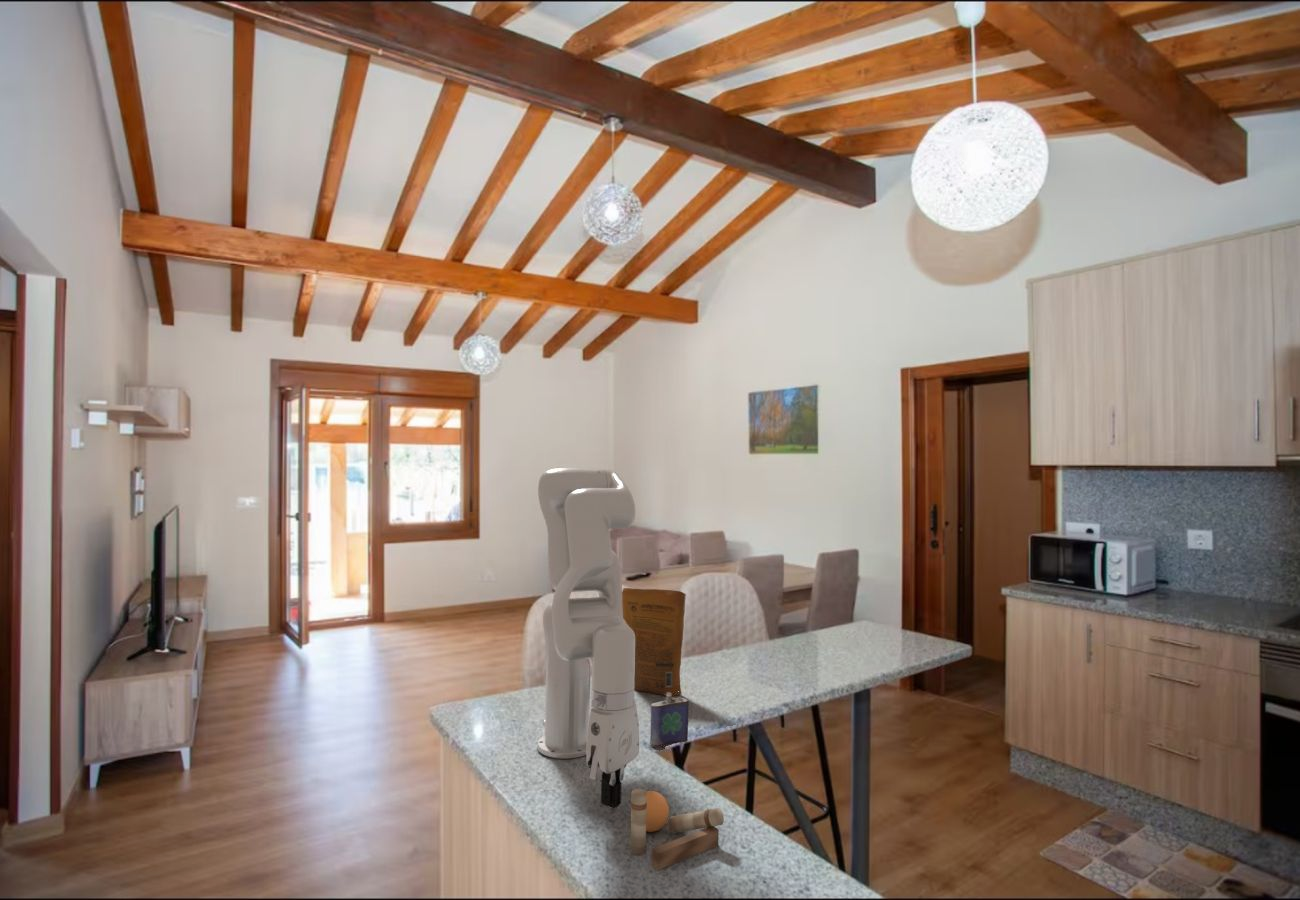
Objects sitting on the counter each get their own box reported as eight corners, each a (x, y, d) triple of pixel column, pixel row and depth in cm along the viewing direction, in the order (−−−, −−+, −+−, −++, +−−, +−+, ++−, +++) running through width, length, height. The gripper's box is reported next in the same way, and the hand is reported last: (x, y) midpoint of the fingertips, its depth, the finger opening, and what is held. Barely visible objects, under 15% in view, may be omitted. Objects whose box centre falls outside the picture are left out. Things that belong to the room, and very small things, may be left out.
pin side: (627, 849, 105) (628, 791, 105) (640, 844, 107) (641, 787, 107) (635, 856, 103) (636, 797, 103) (649, 851, 105) (650, 793, 105)
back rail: (657, 870, 100) (658, 853, 100) (651, 865, 101) (652, 848, 101) (718, 845, 107) (718, 829, 107) (712, 841, 108) (712, 825, 108)
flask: (653, 748, 144) (654, 698, 144) (647, 743, 146) (648, 694, 147) (690, 741, 148) (691, 692, 148) (683, 736, 151) (684, 688, 151)
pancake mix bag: (679, 701, 174) (680, 593, 175) (615, 689, 183) (617, 586, 184) (689, 693, 180) (690, 589, 181) (627, 682, 189) (629, 583, 190)
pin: (672, 812, 112) (718, 804, 108) (679, 824, 112) (725, 816, 108) (667, 824, 109) (714, 816, 105) (674, 836, 110) (721, 829, 106)
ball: (668, 817, 107) (656, 846, 108) (677, 793, 113) (665, 821, 114) (634, 799, 108) (623, 828, 110) (645, 777, 114) (634, 804, 115)
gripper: (603, 715, 109) (601, 829, 108) (654, 690, 121) (652, 793, 120) (568, 705, 113) (566, 816, 112) (620, 683, 125) (618, 782, 125)
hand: (610, 804), depth 116 cm, fingers closed
